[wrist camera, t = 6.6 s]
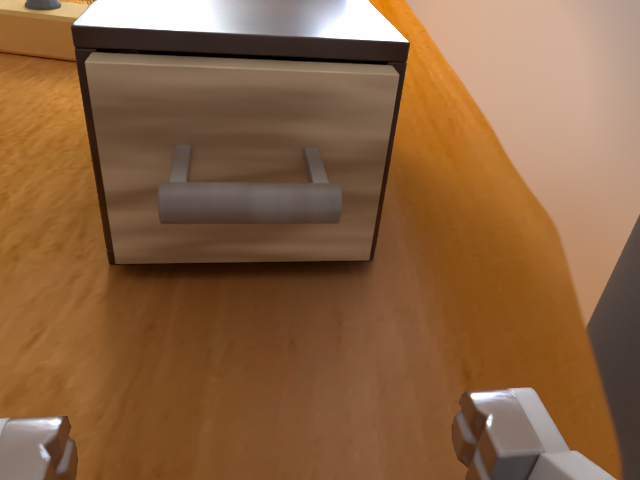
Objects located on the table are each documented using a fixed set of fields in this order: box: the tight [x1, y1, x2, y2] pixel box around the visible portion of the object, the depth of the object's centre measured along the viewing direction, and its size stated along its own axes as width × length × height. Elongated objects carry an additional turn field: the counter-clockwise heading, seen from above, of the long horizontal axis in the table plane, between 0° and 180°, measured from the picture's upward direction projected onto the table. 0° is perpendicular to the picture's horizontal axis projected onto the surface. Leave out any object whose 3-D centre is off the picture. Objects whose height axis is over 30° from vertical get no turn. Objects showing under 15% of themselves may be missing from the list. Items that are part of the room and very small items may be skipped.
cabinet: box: [71, 0, 410, 264], centre depth 30 cm, size 16×13×11 cm
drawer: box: [85, 50, 399, 264], centre depth 27 cm, size 19×11×9 cm, turn 8°
